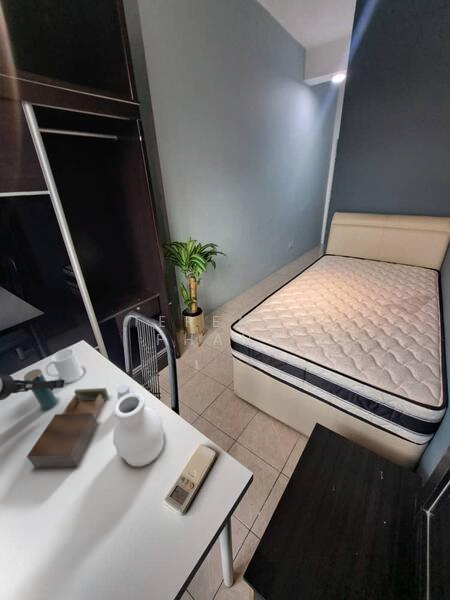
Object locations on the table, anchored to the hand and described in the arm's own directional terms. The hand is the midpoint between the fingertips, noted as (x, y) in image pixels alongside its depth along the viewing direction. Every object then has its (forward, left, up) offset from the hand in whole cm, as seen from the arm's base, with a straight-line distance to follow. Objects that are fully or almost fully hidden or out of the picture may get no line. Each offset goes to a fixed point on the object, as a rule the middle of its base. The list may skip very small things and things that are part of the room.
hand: (45, 384), depth 92 cm
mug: (-10, +6, -9) cm, 14 cm away
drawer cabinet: (+24, +4, -8) cm, 26 cm away
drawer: (+14, +11, -7) cm, 19 cm away
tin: (+2, -1, -8) cm, 9 cm away
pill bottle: (+20, +24, -9) cm, 32 cm away
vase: (+39, +24, -9) cm, 46 cm away
